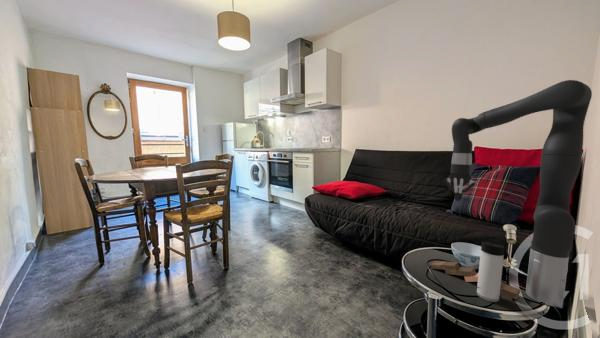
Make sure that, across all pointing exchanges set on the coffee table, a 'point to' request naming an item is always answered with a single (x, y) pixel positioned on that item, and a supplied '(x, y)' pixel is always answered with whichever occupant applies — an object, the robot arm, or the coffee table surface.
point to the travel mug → (490, 271)
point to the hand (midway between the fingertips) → (458, 200)
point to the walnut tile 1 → (444, 265)
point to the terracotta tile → (472, 278)
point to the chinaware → (467, 254)
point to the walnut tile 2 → (462, 271)
